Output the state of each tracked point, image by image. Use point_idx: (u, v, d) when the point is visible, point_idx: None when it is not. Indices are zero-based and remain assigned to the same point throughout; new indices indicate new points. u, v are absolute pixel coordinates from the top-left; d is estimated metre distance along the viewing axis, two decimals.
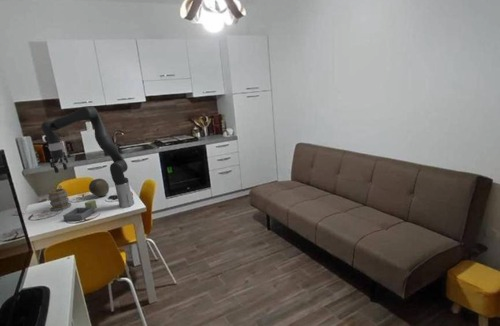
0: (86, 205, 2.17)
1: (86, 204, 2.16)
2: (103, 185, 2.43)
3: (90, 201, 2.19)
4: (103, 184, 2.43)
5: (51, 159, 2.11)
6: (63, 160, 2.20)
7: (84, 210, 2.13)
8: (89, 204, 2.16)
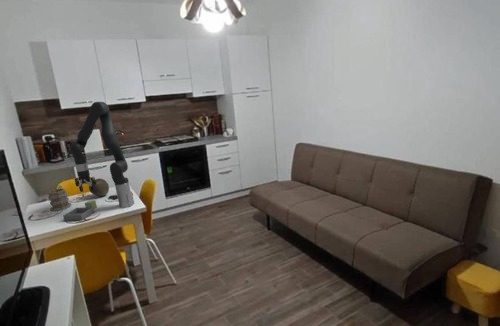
0: (86, 205, 2.17)
1: (86, 204, 2.16)
2: (103, 185, 2.43)
3: (90, 201, 2.19)
4: (103, 184, 2.43)
5: (93, 177, 2.14)
6: None
7: (84, 210, 2.13)
8: (89, 204, 2.16)
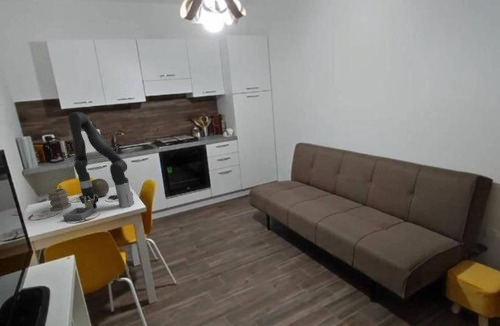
0: (86, 205, 2.17)
1: (86, 204, 2.16)
2: (103, 185, 2.43)
3: (90, 201, 2.18)
4: (103, 184, 2.43)
5: (97, 194, 2.17)
6: None
7: (84, 210, 2.13)
8: (89, 204, 2.16)
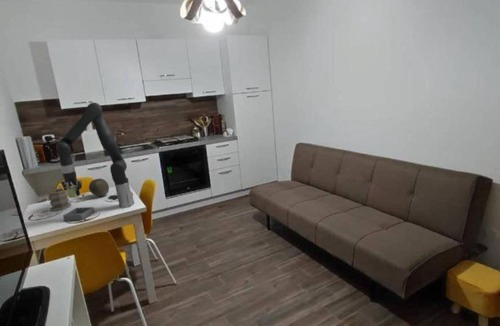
0: (68, 192, 2.01)
1: (68, 191, 2.01)
2: (103, 185, 2.43)
3: None
4: (103, 184, 2.43)
5: (80, 180, 2.01)
6: None
7: (84, 210, 2.13)
8: (72, 191, 2.00)
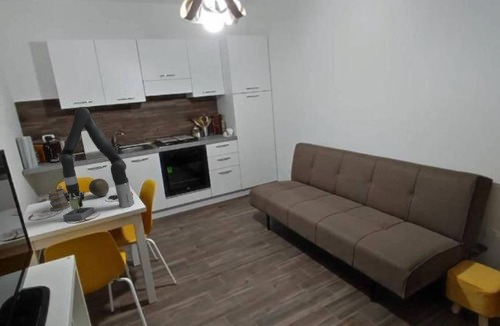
0: (71, 203, 2.03)
1: (71, 202, 2.03)
2: (103, 185, 2.43)
3: (76, 199, 2.05)
4: (103, 184, 2.43)
5: (83, 192, 2.03)
6: None
7: (84, 210, 2.13)
8: (74, 202, 2.02)
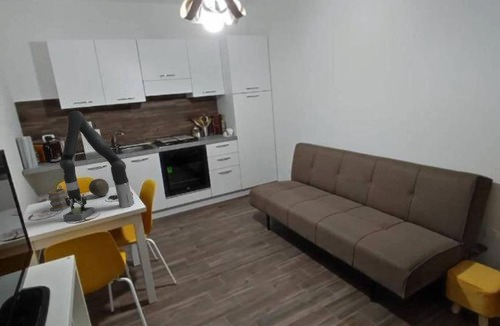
0: (73, 211, 2.04)
1: (73, 210, 2.04)
2: (103, 185, 2.43)
3: (78, 207, 2.06)
4: (103, 184, 2.43)
5: (84, 196, 2.03)
6: None
7: None
8: (77, 210, 2.04)
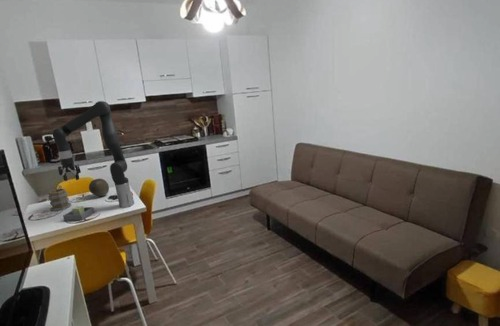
0: (73, 211, 2.04)
1: (73, 210, 2.04)
2: (103, 185, 2.43)
3: (78, 207, 2.06)
4: (103, 184, 2.43)
5: None
6: None
7: (84, 210, 2.13)
8: (77, 210, 2.04)
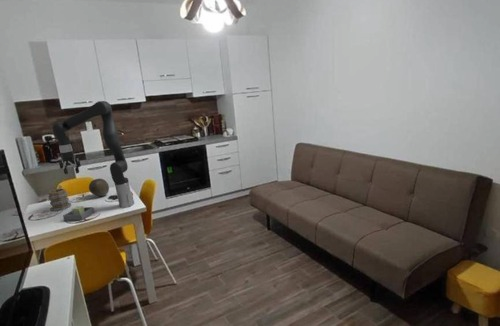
0: (73, 211, 2.04)
1: (73, 210, 2.04)
2: (103, 185, 2.43)
3: (78, 207, 2.06)
4: (103, 184, 2.43)
5: (77, 158, 2.09)
6: None
7: (84, 210, 2.13)
8: (77, 210, 2.04)
